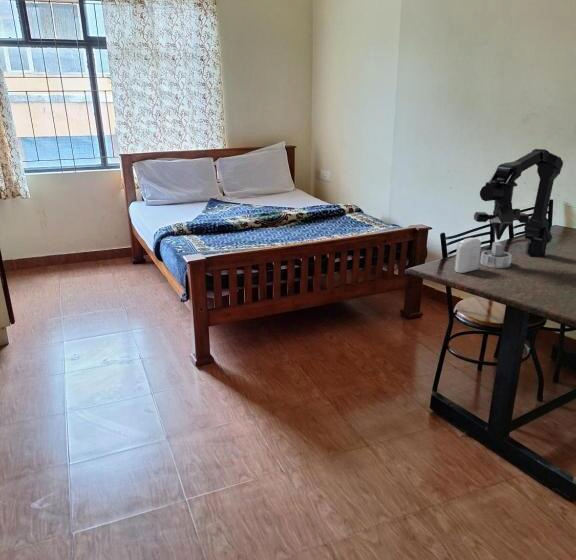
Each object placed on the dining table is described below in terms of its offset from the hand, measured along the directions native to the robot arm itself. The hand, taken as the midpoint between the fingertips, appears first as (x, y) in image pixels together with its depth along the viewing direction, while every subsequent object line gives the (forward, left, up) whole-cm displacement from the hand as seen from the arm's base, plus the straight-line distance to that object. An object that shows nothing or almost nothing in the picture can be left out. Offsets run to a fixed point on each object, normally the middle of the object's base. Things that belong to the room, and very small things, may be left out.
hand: (498, 239), depth 192 cm
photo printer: (+13, +10, -10) cm, 19 cm away
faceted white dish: (0, 0, -10) cm, 10 cm away
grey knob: (0, 0, -8) cm, 8 cm away
